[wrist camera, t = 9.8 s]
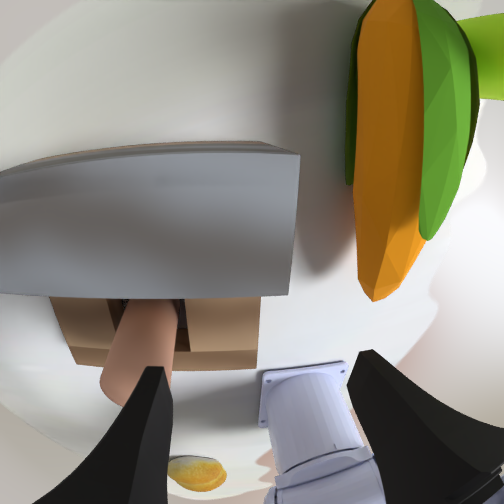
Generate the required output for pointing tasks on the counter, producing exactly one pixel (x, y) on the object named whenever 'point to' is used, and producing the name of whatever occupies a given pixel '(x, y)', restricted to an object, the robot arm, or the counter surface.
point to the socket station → (154, 241)
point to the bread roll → (197, 473)
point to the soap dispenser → (487, 52)
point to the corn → (405, 132)
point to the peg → (140, 345)
